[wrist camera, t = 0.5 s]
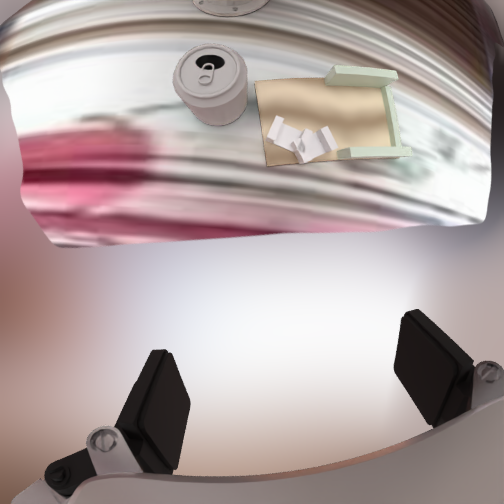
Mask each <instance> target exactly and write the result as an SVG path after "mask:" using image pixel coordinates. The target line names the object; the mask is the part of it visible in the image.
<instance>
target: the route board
mask: <svg viewBox="0 0 504 504" xmlns="http://www.w3.org/2000/svg"><path fill="white" fill-rule="evenodd" d="M255 90H256V96H257V102H258V109H259V115H260V122H261V128H262V135H263V142H264V149H265V156H266V163H267V167H268V166H277V165H286V164H296V163H299V161H298V159H297V157H296V155H295V153H293V152H291V151H289V150H286V149H284V148H282V147H279V146H277V145H275V144H272V143H270V142H267V141H265V140H266V138H267V135H268V133H269V131H270V128H271V126H272V124H273V122H274V119H275V117H276V115H277V116H279V117H282V118H284V120H283V122H282V123H283V124H286V125H288V126H290V127H293V128H295V129H297V130H299V131H303V130H304V129H305V128H307V129H309V130H311V131H313V133H315V132H317V131H318V130H320V129H321V128H324V127H326V126H328V128H329V130H330V132H331V134H332V136H333V138H334V140H335V142H336V144H337V146H338V148H337V149H334V150H332V151H329V152H326V153H324V154H322V155H320V156H317V157H315V158H313V159H312V160H311V161H309V162H319V161H334V160H338V157H337V151H338V150H341V149H345V148H348V147H391V143H390V136H389V130H388V124H387V118H386V113H385V107H384V102H383V98H382V93H381V88H372V87H356V86H325V81H324V78H290V79H274V80H262V81H255ZM313 133H312V134H313ZM397 158H400V157H397ZM360 159H382V158H360ZM339 160H352V159H339ZM306 163H307V162H306Z"/></svg>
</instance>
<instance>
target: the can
mask: <svg viewBox="0 0 504 504" xmlns="http://www.w3.org/2000/svg"><path fill="white" fill-rule="evenodd" d="M173 85H174V88H175V91H176V93H177V94H178V95H179V97H180V98H181V99H182V100H183V102H184V103H185V104H186V105H187V106H188V107H189V109H190V110H191V111H192V112H193V113H194V115H195V116H196V117H197V118H198V119H199V120H201V121H202V122H204V123H205V124H209V125H213V126H220V125H226V124H229V123H232V122H233V121H235V120H236V119H238V118H239V117H240V116H241V114H242V113H243V112H244V110H245V108H246V105H247V67H246V64H245V62H244V59H243V58H242V57H241V56H240V55H239V54H238V53H237V52H236V51H234V50H232V49H230V48H229V47H226V46H224V45H219V44H203V45H200V46H197V47H194V48H193V49H191V50H190V51H188V52H186V53H185V54H184V56H183V57H182V58H181V59H180V60H179V63H178V64H177V66H176V69H175V71H174V74H173Z"/></svg>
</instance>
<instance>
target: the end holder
mask: <svg viewBox="0 0 504 504" xmlns="http://www.w3.org/2000/svg"><path fill="white" fill-rule="evenodd" d="M397 79H398V76H397V72H396V71H393V70H386V69H378V68H369V67H358V66H343V65H334V66H333V67H332V69H331V70H330V71H329V72H328V74H327V75H326V76H325V77H324V81H325V86H356V87H372V88H381V93H382V98H383V102H384V107H385V113H386V118H387V124H388V130H389V136H390V143H391V147H348V148H345V149H341V150H338V151H337V157H338V160H339V159H360V158H397V157H408V156H412V148H411V147H402V145H401V137H400V131H399V125H398V119H397V114H396V108H395V103H394V99H393V94H392V90H391V86H387V85H389V84H390V83H392V82H394V81H396V80H397Z"/></svg>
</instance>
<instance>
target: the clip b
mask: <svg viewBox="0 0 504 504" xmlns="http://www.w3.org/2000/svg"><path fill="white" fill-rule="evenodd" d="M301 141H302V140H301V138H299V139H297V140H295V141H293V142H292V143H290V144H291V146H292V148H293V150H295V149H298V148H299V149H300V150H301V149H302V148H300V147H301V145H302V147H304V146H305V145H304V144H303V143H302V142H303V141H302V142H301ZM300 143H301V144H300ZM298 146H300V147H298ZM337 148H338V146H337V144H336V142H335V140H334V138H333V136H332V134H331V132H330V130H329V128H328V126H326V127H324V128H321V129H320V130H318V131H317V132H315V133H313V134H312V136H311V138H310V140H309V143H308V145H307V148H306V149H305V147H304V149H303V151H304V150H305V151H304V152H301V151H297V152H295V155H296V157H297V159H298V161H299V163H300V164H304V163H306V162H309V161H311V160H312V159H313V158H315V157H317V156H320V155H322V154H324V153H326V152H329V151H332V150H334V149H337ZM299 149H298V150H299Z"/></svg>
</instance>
